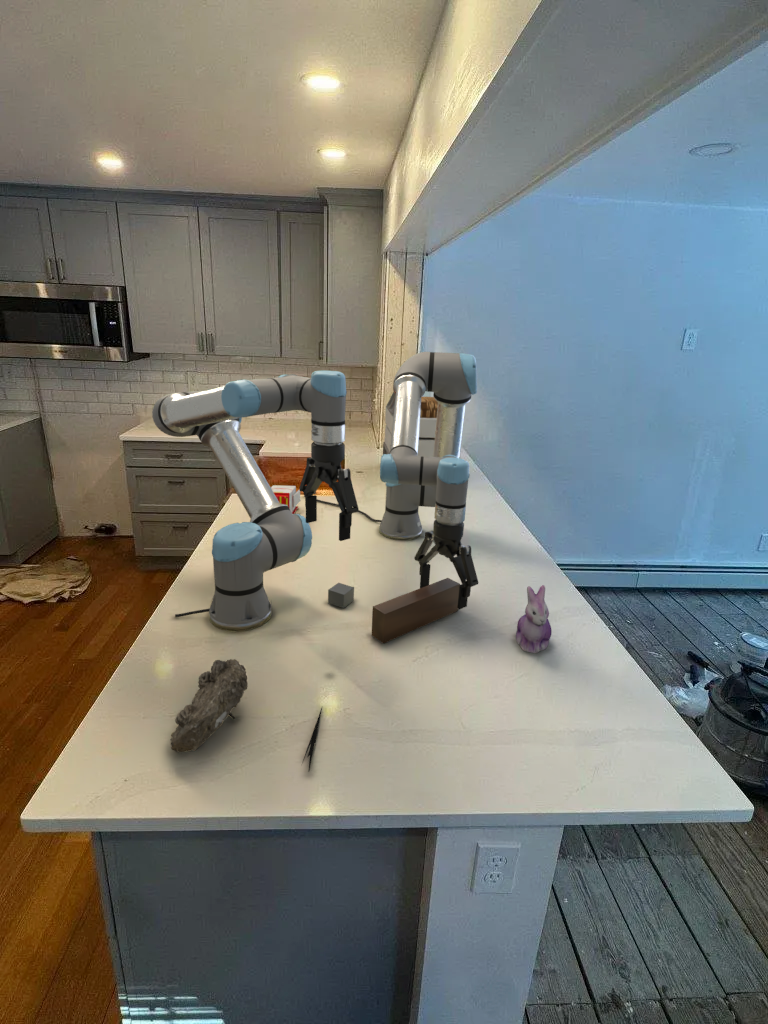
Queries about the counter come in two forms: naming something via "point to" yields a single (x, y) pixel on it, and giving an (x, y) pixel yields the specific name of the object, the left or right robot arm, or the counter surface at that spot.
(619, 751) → the counter surface
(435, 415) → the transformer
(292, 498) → the toy
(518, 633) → the figurine
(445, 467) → the right robot arm
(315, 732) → the feather
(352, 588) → the slate block
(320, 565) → the counter surface
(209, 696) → the fossil
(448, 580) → the walnut beam
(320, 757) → the counter surface
